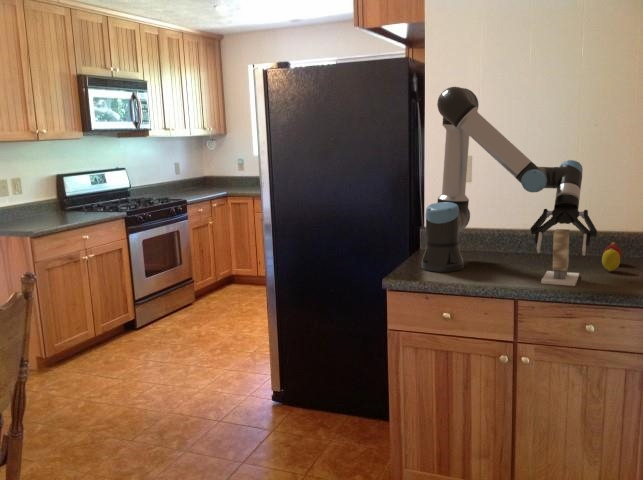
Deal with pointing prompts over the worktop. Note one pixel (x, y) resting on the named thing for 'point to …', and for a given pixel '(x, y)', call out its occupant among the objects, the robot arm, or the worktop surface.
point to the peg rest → (560, 278)
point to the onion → (614, 248)
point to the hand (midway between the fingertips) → (560, 252)
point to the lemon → (611, 259)
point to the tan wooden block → (560, 249)
